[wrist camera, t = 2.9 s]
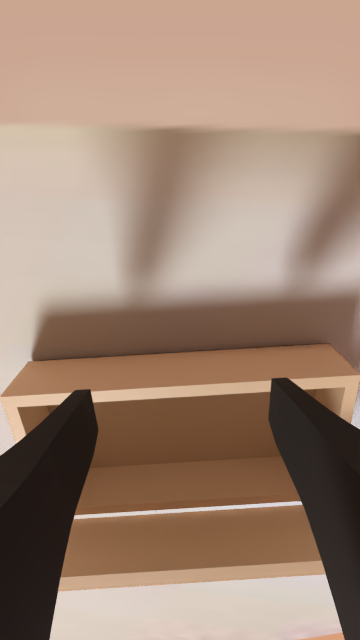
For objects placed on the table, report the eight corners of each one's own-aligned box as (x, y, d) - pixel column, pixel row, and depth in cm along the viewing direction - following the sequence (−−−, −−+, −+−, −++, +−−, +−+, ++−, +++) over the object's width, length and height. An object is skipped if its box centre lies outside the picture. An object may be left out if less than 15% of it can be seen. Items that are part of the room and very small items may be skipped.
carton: (311, 454, 20) (334, 498, 17) (59, 470, 20) (41, 517, 17) (329, 343, 16) (361, 374, 14) (28, 361, 16) (-1, 397, 14)
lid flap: (327, 503, 17) (329, 515, 17) (49, 520, 17) (49, 532, 17) (380, 557, 12) (382, 573, 12) (1, 581, 12) (1, 597, 12)
